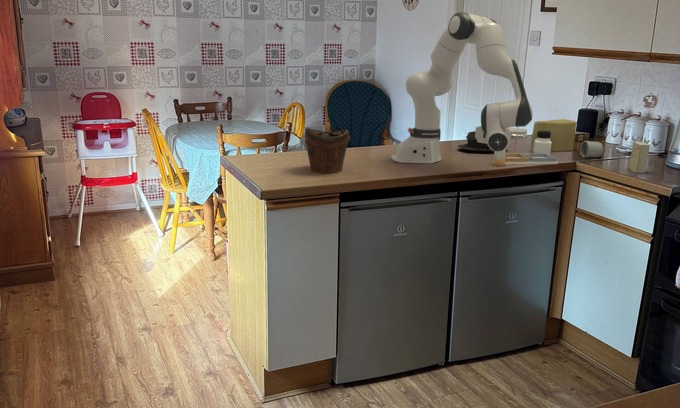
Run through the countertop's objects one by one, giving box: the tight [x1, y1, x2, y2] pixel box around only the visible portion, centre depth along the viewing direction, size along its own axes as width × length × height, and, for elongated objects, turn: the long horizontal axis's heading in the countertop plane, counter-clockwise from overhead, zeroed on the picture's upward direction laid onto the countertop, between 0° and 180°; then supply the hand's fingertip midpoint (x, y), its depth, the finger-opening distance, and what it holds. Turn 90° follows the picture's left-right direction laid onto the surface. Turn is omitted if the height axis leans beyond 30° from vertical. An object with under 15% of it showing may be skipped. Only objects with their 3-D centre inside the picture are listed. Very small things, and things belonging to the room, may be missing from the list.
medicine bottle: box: [532, 130, 552, 156], centre depth 287 cm, size 7×7×12 cm
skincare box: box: [628, 141, 651, 174], centre depth 258 cm, size 6×4×12 cm
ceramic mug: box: [579, 140, 604, 159], centre depth 288 cm, size 11×8×8 cm
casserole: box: [457, 130, 509, 153], centre depth 299 cm, size 25×19×8 cm
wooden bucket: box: [304, 127, 351, 174], centre depth 253 cm, size 18×20×18 cm
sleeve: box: [492, 148, 507, 167], centre depth 267 cm, size 5×5×12 cm
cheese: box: [530, 118, 577, 153], centre depth 299 cm, size 22×10×15 cm, turn 112°
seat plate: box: [505, 152, 559, 165], centre depth 277 cm, size 24×13×2 cm, turn 95°
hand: (501, 130), depth 253 cm, fingers open, 8 cm apart
